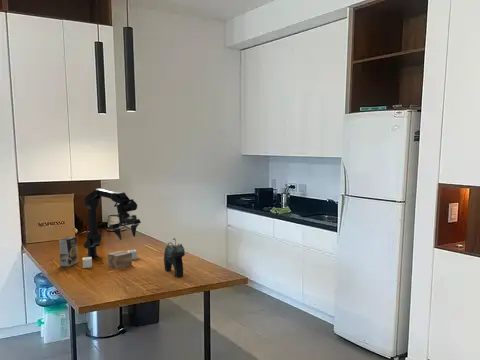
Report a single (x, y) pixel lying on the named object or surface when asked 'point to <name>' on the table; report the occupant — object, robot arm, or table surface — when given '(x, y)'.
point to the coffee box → (68, 251)
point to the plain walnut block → (119, 259)
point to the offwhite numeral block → (87, 262)
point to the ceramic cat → (174, 258)
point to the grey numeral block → (133, 253)
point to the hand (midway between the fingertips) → (127, 238)
